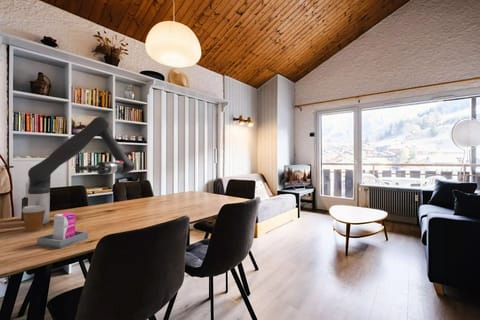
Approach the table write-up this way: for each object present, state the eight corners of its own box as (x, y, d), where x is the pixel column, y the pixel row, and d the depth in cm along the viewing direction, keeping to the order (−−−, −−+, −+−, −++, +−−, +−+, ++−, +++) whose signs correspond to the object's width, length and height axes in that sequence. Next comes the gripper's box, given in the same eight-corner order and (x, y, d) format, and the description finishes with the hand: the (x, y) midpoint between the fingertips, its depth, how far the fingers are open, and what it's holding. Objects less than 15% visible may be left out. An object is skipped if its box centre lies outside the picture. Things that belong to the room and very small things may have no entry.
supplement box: (63, 242, 100) (63, 216, 100) (52, 240, 101) (53, 215, 101) (75, 237, 105) (76, 213, 105) (65, 236, 107) (66, 212, 107)
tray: (37, 245, 98) (37, 238, 98) (66, 235, 111) (66, 229, 111) (60, 248, 95) (60, 241, 95) (88, 238, 108) (88, 232, 108)
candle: (36, 218, 138) (37, 177, 138) (25, 220, 133) (26, 178, 133) (30, 217, 140) (31, 177, 140) (20, 219, 135) (21, 177, 135)
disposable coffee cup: (44, 230, 117) (45, 207, 117) (19, 233, 112) (19, 209, 112) (47, 226, 125) (47, 204, 125) (23, 228, 119) (24, 205, 119)
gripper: (97, 161, 140) (71, 161, 124) (116, 162, 136) (93, 162, 120) (97, 173, 140) (71, 175, 124) (116, 174, 136) (92, 176, 120)
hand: (82, 168), depth 122 cm, fingers open, 8 cm apart
